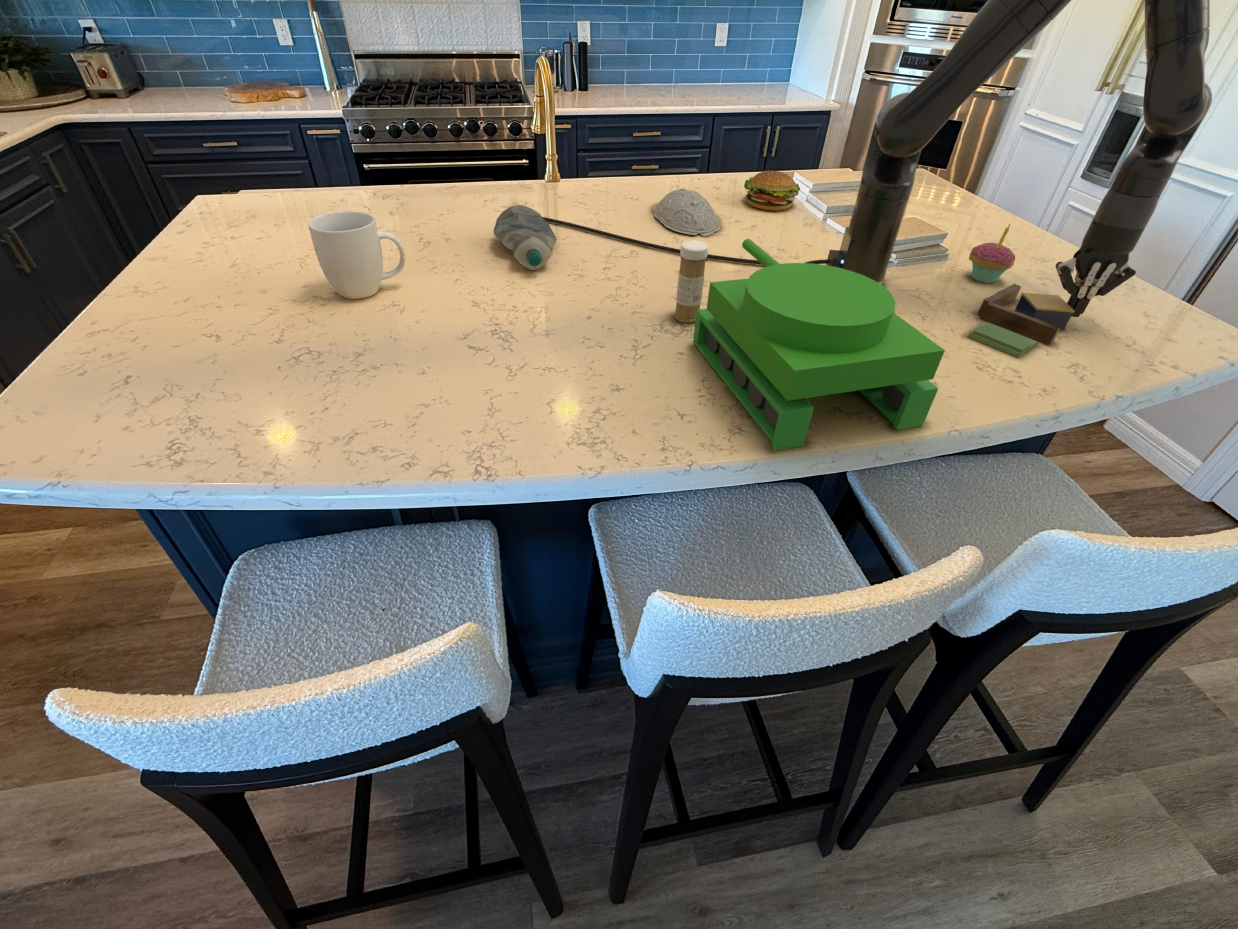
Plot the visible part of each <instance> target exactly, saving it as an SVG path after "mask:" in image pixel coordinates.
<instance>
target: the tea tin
mask: <svg viewBox="0 0 1238 929" xmlns="http://www.w3.org/2000/svg"><path fill="white" fill-rule="evenodd" d="M1013 310H1014V311H1017V312H1020V313H1022V314H1025V315H1028V316H1030V317H1033V318H1036V319H1039V320H1041V321H1044V322H1047V323H1049V324H1052V325H1055V326H1058V327H1060V328H1061V329H1060V330H1059V331H1061V332H1062V331H1063V332H1064V331H1065V329H1066V327H1067V325H1068V323H1069V322H1070V319H1071V318H1072V317H1071V316H1072V314H1073V313H1074V312H1075V310H1073V309H1072V308H1071V307H1070V306H1069V305H1068V304H1067V302H1066V300H1064V298H1062V297H1061V296H1060V295H1059V294H1049V293H1047V294H1046V293H1033V292H1021V296H1020V297H1019V299H1018V302H1017V304H1016V307H1015V308H1014V309H1013Z"/></svg>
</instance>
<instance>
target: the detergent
mask: <svg viewBox="0 0 1238 929" xmlns="http://www.w3.org/2000/svg"><path fill="white" fill-rule="evenodd" d="M543 217H544V216H542V215H541V214H540V213H539V212H538V211H536V210H535V209H533V208H531V207H529V206H526V205H521V204H519V205H518V204H517V205H515V204H514V205H512V206H509V207H507V208H506V209H504V210H503V211H502V212H501V213H500V214H499V216H497V218H496V220H495V225H494V227H493V235H494V236H495V237H496V238H497V239H498V240H499V241H500V242H501V244H502V245H503V246H504V247H505V248H507V249H508V250H511V251H512V255H513V257H514V258H515V259H516V261H518V263H519V264H521V265H522V266H523V267H525V268H526V269H527V270H531V271H536V270H539V269H541V268H542V267H543V266H544V265H545V264H546V263H547V262H548V261H549V260H550V258H551V257H552V249H554V246H555V244H556V241H557V236H556V234H555V233H554V232H553V229H552V226H550V224H549V222H547V221H545V220H544V219H543Z"/></svg>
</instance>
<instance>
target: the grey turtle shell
mask: <svg viewBox="0 0 1238 929" xmlns="http://www.w3.org/2000/svg"><path fill="white" fill-rule="evenodd" d="M653 215H654V217H655V218H656V220H659V222H660V224H663V226H664V227H665V228H667V229H669V230H671V231H674V232H678V233H681V234H686V235H691V236H697V235H698V234H699V235H701V236H702V237H708V236H710V235H713V234H714V233H715V232H718V231H720V229H721V226H720V224H719V220H718V218H717V215H716V214H715V211H714V209H713V207H712V205H711V204H710V202H709V201H708V199H706V198H705V197H704V196H702V195H701V193H700V192H698V191H695V190H692V189H686V188H684V187H681V188H679V189H674V190H672V191H670V192H668V193H666V195H665V194H664V197H662V198H661V200H660V201H659V202H658V203H657V204H656V205H654V207H653Z"/></svg>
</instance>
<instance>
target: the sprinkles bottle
mask: <svg viewBox="0 0 1238 929" xmlns="http://www.w3.org/2000/svg"><path fill="white" fill-rule="evenodd" d="M707 254H709V245H708V244H707V243H705V242H704V241H701V240H686V241H684V242H682V243H681V245H680V253H679V255H680V263H679V272H678V278H677V279H678V280H677V288H676V304H675V313H674V318H675V320H677V321H679V322H680V323H683V324H684V323H685V324H693V323H695V321H696V313H697V310H699V309H701V304H702V298H703V290H704V281H705V272H706V271H705V270H706V262H707V259H708V258H707Z"/></svg>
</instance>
